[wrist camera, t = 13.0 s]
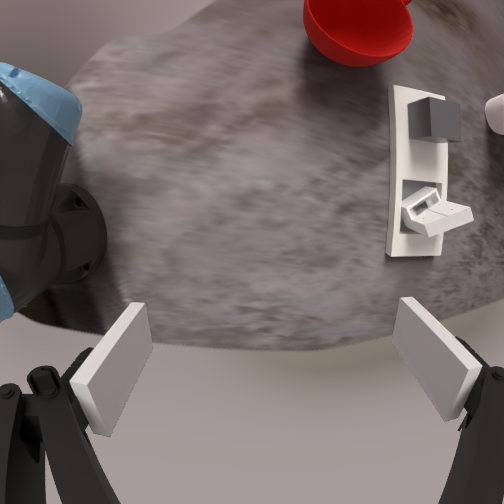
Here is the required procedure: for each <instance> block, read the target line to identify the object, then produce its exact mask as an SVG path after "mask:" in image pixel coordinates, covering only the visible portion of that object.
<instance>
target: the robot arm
mask: <svg viewBox="0 0 504 504" xmlns="http://www.w3.org/2000/svg"><path fill="white" fill-rule="evenodd" d="M81 116H82V105H81V102H80V101H79V99H78V98H77V97H76V96H75V95H73V94H71V93H70V92H68V91H66V90H65V89H63V88H61V87H59V86H57V85H55V84H53V83H52V82H49V81H47V80H45V79H43V78H41V77H39V76H36V75H34V74H32V73H30V72H27V71H25V70H21V69H19V68H16V67H14V66H12V65H9V64H6V63H0V322H2V321H3V320H5V319H8V318H11V317H12V316H13V314H14V313H16V312H17V311H18V310H19V309H21V308H22V307H23V306H25V305H26V304H27V303H29V302H30V301H31V300H33V299H34V298H35V297H37V296H38V295H39V294H41V293H42V292H43V291H45V290H46V289H48V288H49V287H50V286H52V285H53V284H61V283H70V282H76V281H79V280H81V279H83V278H85V277H86V276H87V275H89V274H90V273H91V272H93V271H94V270H95V269H96V268H97V266H98V265H99V264H100V262H101V260H102V258H103V255H104V252H105V248H106V226H105V221H104V218H103V215H102V212H101V210H100V208H99V206H98V204H97V203H96V201H95V200H94V198H93V197H92V196H91V195H90V194H89V193H88V192H87V191H85V190H84V189H83V188H81V187H79V186H77V185H74V184H68V183H64V184H59V183H60V180H61V176H62V173H63V170H64V167H65V164H66V161H67V158H68V155H69V152H70V149H71V147H73V145H74V140H73V139H74V136H75V133H76V130H77V127H78V124H79V121H80V119H81ZM391 343H392V344H393V345H394V347H395V348H396V350H397V351H398V353H399V354H400V355H401V357H402V358H403V360H404V361H405V363H406V364H407V366H408V367H409V368H410V370H411V372H412V373H413V374H414V376H415V377H416V379H417V380H418V382H419V383H420V385H421V386H422V388H423V389H424V391H425V392H426V394H427V395H428V397H429V398H430V400H431V402H432V403H433V405H434V406H435V408H436V409H437V411H438V413H439V414H440V416H441V417H442V419H443V420H444V422H447V421H450V420H453V419H456V418H458V417H459V415H460V413H461V411H462V409H463V408H465V409H466V411H467V412H468V413H467V414H466V416H465V418H464V420H463V422H462V424H461V425H460V427H459V429H458V431H460V430H461V428H462V431H461V435H460V439H459V443H458V447H457V450H456V454H455V457H454V461H453V464H452V467H451V470H450V473H449V476H448V479H447V482H446V485H445V488H444V490H443V493H442V496H441V498H440V501H439V503H438V504H502V501H503V496H504V368H502V367H497V366H494V367H490V366H489V365H488V364H487V363H486V362H485V361H484V360H483V359H482V358H481V357H480V356H479V355H478V354H477V353H475V351H474V350H473V349H472V348H470V346H469V345H468V344H467V343H466V342H465V341H463V340H462V339H460V338H458V337H454V336H453V335H452V334H451V333H450V332H449V331H448V330H447V329H446V328H445V327H443V325H441V324H440V323H439V322H438V321H437V320H436V319H435V318H434V317H433V316H432V315H431V314H430V313H429V312H428V311H427V310H426V309H425V308H424V307H423V306H421V305H420V304H419V303H418V302H417V301H416V300H415V299H414V298H413V297H402V298H400V301H399V306H398V312H397V317H396V322H395V327H394V332H393V336H392V341H391ZM152 350H153V344H152V339H151V334H150V328H149V323H148V317H147V311H146V305H145V303H133V302H132V303H131V304H130V305H129V306H128V307H127V309H126V310H125V311H124V312H123V313H122V315H121V316H120V317H119V318H118V320H117V321H116V322H115V323H114V324H113V326H112V327H111V328H110V329H109V331H108V332H107V333H106V334H105V336H104V337H103V338H102V339H101V341H100V342H99V343H98V345H97V346H96V347H95V348H90V347H89V348H88V349H86V350H84V351H83V352H81V353H80V355H79V356H78V357H77V358H76V360H75V361H74V362H73V363H72V364H71V367H69V368H68V369H67V370H66V372H65V373H64V374H63V376H62V377H61V378H60V376H59V374H58V372H57V370H56V369H55V368H54V367H52V366H47V365H46V366H40V367H37V368H35V369H33V370H32V371H31V372H30V373H29V374H28V376H27V382H28V384H29V386H30V388H31V390H32V392H33V394H22V392H21V390H20V388H19V386H18V385H16V384H13V383H9V384H5V385H2V386H1V387H0V504H46V492H45V450H46V454H47V458H48V461H49V465H50V468H51V472H52V475H53V478H54V481H55V485H56V488H57V490H58V493H59V496H60V499H61V502H62V504H121V503H120V502H119V500H118V498H117V496H116V495H115V493H114V491H113V489H112V487H111V486H110V483H109V482H108V479H107V478H106V475H105V473H104V472H103V469H102V467H101V465H100V463H99V461H98V459H97V456H96V454H95V452H94V450H93V447H92V445H91V443H90V440H89V438H88V435H87V433H86V432H85V429H86V428H87V426H88V424H89V426H90V427H91V429H92V431H93V433H94V434H99V435H103V436H107V437H110V436H111V434H112V432H113V430H114V428H115V426H116V423H117V421H118V419H119V417H120V415H121V413H122V411H123V409H124V407H125V404H126V402H127V400H128V398H129V396H130V394H131V392H132V390H133V388H134V386H135V384H136V382H137V380H138V378H139V376H140V374H141V372H142V370H143V368H144V366H145V364H146V362H147V360H148V358H149V356H150V354H151V352H152Z"/></svg>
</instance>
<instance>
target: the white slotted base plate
mask: <svg viewBox="0 0 504 504" xmlns="http://www.w3.org/2000/svg"><path fill="white" fill-rule="evenodd" d="M388 100H389V118H390V197H389V216H388V230H387V242H386V253H387V254H388V255H389V256H391V257H397V256H441V249H442V241H443V233H444V232H442V233H439V234H437V235H434V236H431V237H427V236H425V235H423V234H421V233H419V232H416V231H414V230H412V229H410V228H408V227H406V226H405V224H404V221H403V219H402V217H401V204H402V201H403V200H405V199H406V198H408V197H409V196H411V195H412V194H414V193H415V192H417V191H419V190H420V189H422V188H423V187H425V186H427V187H433V188H436V189H437V191H438V194H439V196H440V199H441V200H444V201H446V198H447V174H448V143H451V142H462V141H461V119H460V106H459V104H456V103H453V102H449V101H445V97H444V96H441V95H437V94H433V93H429V92H425V91H420V90H416V89H411V88H407V87H402V86H396V85H392V86H390V87H389V88H388ZM422 207H423V204H422V203H421V204H420V205H418V206H417V207H415V208H414V209H415V211H417V210H419V209H420V208H422Z"/></svg>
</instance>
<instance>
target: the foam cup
mask: <svg viewBox="0 0 504 504" xmlns="http://www.w3.org/2000/svg"><path fill="white" fill-rule="evenodd" d="M485 115H486V120H487V122H488V124H489V126H490V128H491V129H492V130H493V131H494V132H495V133H497V134H501V135H504V94H502V95H499V96H497V97H494V98H492V99H491V100H489V101H488V102H487V103H486V106H485Z"/></svg>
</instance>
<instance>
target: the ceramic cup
mask: <svg viewBox="0 0 504 504" xmlns="http://www.w3.org/2000/svg"><path fill="white" fill-rule="evenodd" d="M411 1H412V0H305V1H304V8H303V21H304V25H305V29H306V33H307V35H308V37H309V39H310V41H311V42H312V43H313V45H314V46H315V47H316V48H317V49H318V50H319V51H320V52H321V53H322V54H323V55H325V56H326V57H327V58H329V59H331V60H333V61H335V62H337V63H340V64H343V65H347V66H353V67H365V66H371V65H376V64H378V63H381V62H383V61H386V60H388V59H390V58H392V57H394V56H396V55H397V54H399V53H400V52H401V51H403V50H404V49H405V48H406V47H407V45H408V44H409V43H410V40H411V37H412V32H413V25H412V19H411V16H410V14H409V11H408V9H407V7H406V5H407V4H409V3H410V2H411Z"/></svg>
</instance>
